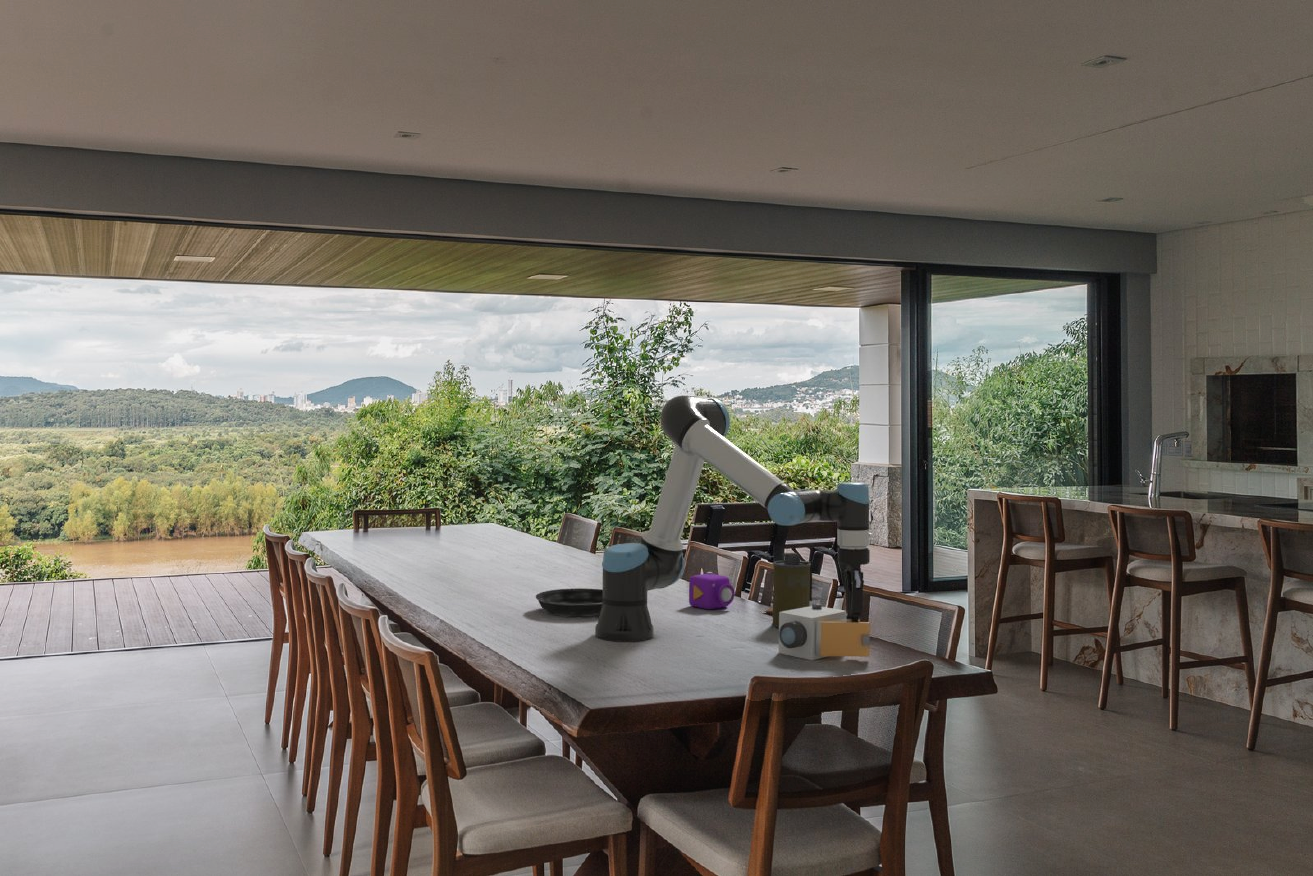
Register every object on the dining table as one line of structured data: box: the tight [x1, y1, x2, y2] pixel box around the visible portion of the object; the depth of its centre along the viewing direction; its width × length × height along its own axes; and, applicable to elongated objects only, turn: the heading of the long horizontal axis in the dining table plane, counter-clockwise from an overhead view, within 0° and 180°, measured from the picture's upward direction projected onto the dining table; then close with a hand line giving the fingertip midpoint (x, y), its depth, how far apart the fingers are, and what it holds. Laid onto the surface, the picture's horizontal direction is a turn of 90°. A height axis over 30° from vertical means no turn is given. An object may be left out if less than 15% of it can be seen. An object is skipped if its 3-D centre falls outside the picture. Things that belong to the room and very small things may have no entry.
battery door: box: [816, 621, 871, 658], centre depth 252 cm, size 13×2×8 cm, turn 91°
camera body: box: [778, 603, 848, 661], centre depth 259 cm, size 17×10×11 cm, turn 134°
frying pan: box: [535, 588, 603, 618], centre depth 316 cm, size 44×25×7 cm, turn 137°
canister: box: [771, 552, 813, 629], centre depth 293 cm, size 11×10×20 cm
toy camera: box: [688, 571, 735, 610], centre depth 319 cm, size 11×14×10 cm
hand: (854, 645), depth 256 cm, fingers closed
